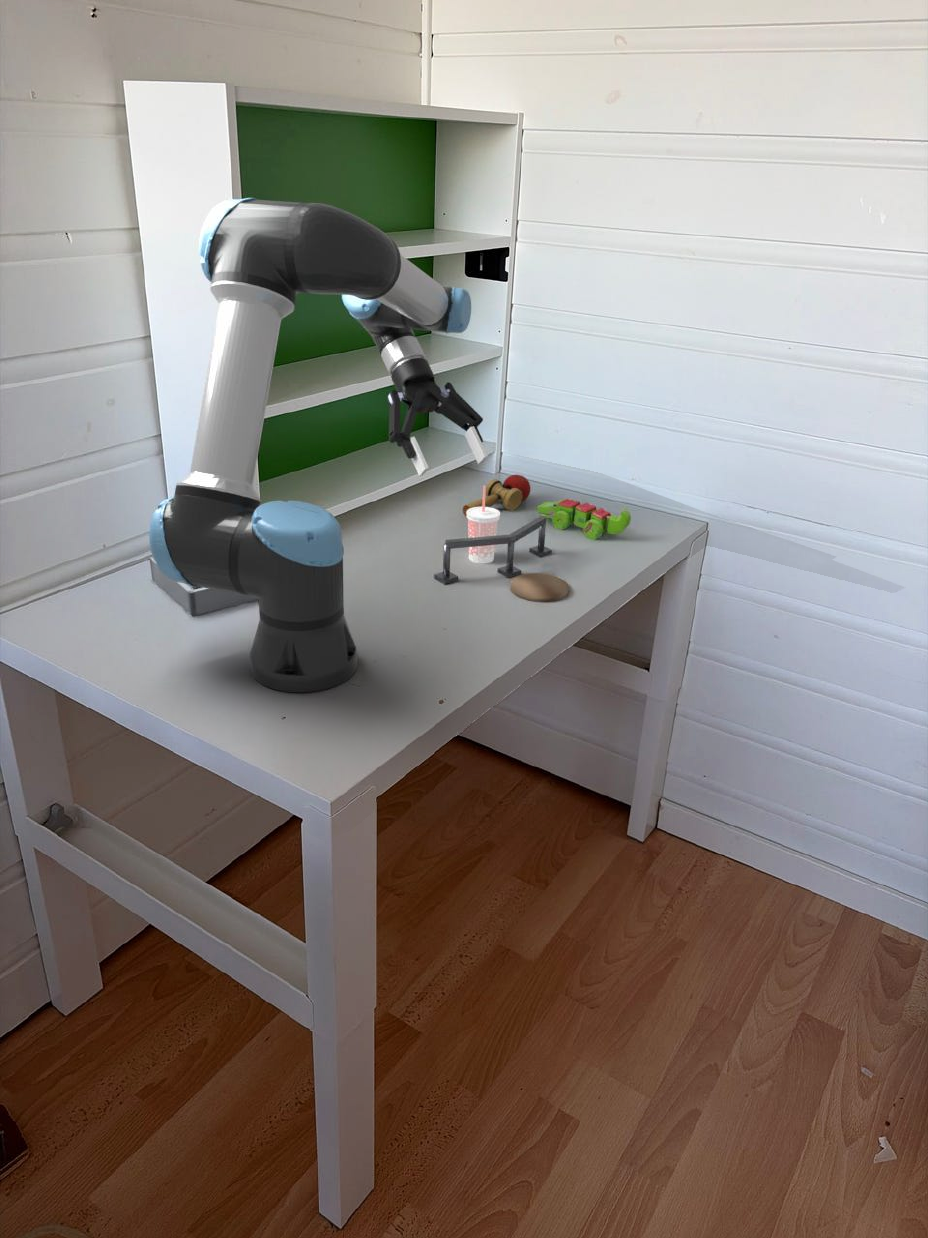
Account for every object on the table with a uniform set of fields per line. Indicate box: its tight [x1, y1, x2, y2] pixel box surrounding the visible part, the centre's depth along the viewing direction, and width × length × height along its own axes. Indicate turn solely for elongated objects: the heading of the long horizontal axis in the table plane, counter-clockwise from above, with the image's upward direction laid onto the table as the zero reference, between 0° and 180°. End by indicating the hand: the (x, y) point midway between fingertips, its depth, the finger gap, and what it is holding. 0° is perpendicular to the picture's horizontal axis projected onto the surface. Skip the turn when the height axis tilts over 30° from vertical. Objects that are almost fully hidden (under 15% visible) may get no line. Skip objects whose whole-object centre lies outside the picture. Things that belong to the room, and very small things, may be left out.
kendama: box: [462, 474, 531, 518], centre depth 196 cm, size 8×6×18 cm
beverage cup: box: [466, 484, 501, 564], centre depth 169 cm, size 6×6×14 cm
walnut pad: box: [509, 572, 570, 603], centre depth 161 cm, size 10×10×1 cm
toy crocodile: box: [536, 498, 632, 540], centre depth 186 cm, size 20×7×6 cm, turn 52°
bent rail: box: [433, 515, 553, 585], centre depth 167 cm, size 25×7×7 cm, turn 128°
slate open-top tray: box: [149, 556, 258, 617], centre depth 156 cm, size 14×17×4 cm
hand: (454, 466), depth 173 cm, fingers open, 13 cm apart
